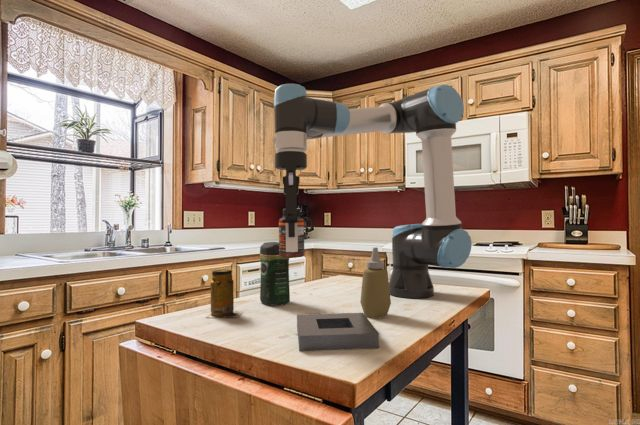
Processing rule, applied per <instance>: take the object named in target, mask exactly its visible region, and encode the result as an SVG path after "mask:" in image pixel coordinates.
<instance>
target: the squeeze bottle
mask: <svg viewBox="0 0 640 425" xmlns="http://www.w3.org/2000/svg"><path fill="white" fill-rule="evenodd" d="M371 251H372V252H371V257H370V260H366V268H365V269H364V270H363V271H362V281H361V291H360V292H361V293H360V302H359V303H360V305H361V306H360V307H361V308H362V310H363V312H362V313H364V315H365V316H366V317H367V318H371V319H382V318H386V317H387V316H388V313H389V311H390V307H391V305H392V302H391V301H392V300H391V295H390V290H389V281H390V279H389V271H388V270H387V269H385V261H383V260H381V257H380V254H379V249H378V247H372V250H371Z"/></svg>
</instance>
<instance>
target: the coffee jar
mask: <svg viewBox="0 0 640 425" xmlns="http://www.w3.org/2000/svg"><path fill="white" fill-rule="evenodd" d="M259 258H260V285H259V286H260V291H259V300H260V302H261V303H263V304H265V305H267V306H279V307H280V306H284V305H285V304H289V303H290V301H291V297H290V296H291V295H290V271H289V270H290V269H289V268H290V267H289V266H290V265H289V264H290V262H289V261H290V258H286V257H281V256H280V255H279V241H270V242H269V241H267V242H264V243H263V244H261V245H260V248H259Z"/></svg>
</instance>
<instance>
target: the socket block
mask: <svg viewBox="0 0 640 425" xmlns="http://www.w3.org/2000/svg"><path fill="white" fill-rule="evenodd" d="M296 328H297V329H296V330H297V332H296V333H297V340H298V343H297V344H298V351H299V352H313V351H338V350H361V349H362V350H363V349H380V336H379V335H380V334H379V332H378V330H377V329H376V328H375V327H374V325H373V324H372V323H371V321H370V320H369V319H368V317H367V316H365V315H364V312H347V313H346V312H345V313H341V312H340V313H315V314H314V313H310V314H307V313H306V314H296Z"/></svg>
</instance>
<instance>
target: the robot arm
mask: <svg viewBox="0 0 640 425" xmlns="http://www.w3.org/2000/svg"><path fill="white" fill-rule="evenodd" d="M307 95H308V94H307V90H306V87H305V86H302V85H301V84H297V83H285V84H280V85H279V86H277V87H275V91H274V96H273V99H274V100H273V101H274V102H273V111H274V112H273V114H274V115H273V116H274V137H273V138H272V139H271V141H272V143H275V144H274V150H275V151H276V153H275V154H274V168H275V169H276V170H280V171H285V175H284V176H282V185H283V195H284V196H285V209H286V216H285V220H283V223H286V252H298V226H297V218H298V216H297V209H298V206H297V205H298V204H297V203H298V202H297V198H298V196H299V185H300V184H301V183H300V181H301V180H300V176H297V172H296V171H301V170H305V169H307V167H308V158H307V157H308V155H307V153H306V151H307V150H308V140H313V139H314V140H315V139H320V138H329V137H330V138H331V137H339V136H340V137H341V136H349V135H358V134H365V133H366V134H367V133H368V134H369V133H377V132H381V133H382V134H384V135H386V134H387V135H388V134H408V133H409V134H410V133H415V136H417V137H418V138H419V139H420V140H421V151H422V164H423V165H422V166H423V183H424V185H423V186H424V200H425V202H424V204H425V214H426V215H425V217H426V218H425V219H424V221H422V223H414V224H413V223H412V224H404V225H403V224H401V225H398V226H397V225H396V226H395V227H394V228H393V230H392V237H391V245H392V246H391V248H392V254H391V255H392V271H391V275H390V278H389V290H390V296H393V297H398V298H406V299H423V298H424V299H425V298H430V297H433V296H434V295H435V287H434V284H433V281H432V278H431V274H430V272H429V266H433V267H439V268H442V269H443V268H444V269H448V268H449V269H456V268H460V267H461V266H463V265H464V264H465V263H466V261H467V260H468V258H469V257H470V255H471V251H472V238H471V236H470V235H469V232H468V231H467V230H465V229H464V228H463V227H462V226H463V225H462V221H461V220H460V219H459V218H458V217H457V216H456V215H457V214H456V195H455V181H454V178H455V177H454V164H453V162H454V161H453V146H452V145H453V143H452V138H453V135H454V134H455V133H456V132H457V123H459V122H460V121H461V120H462V119H463V116H464V113H465V111H464V110H465V107H464V106H465V105H464V102H463V99H462V97H461V94H460V93H459V92H458V91H457V90H456V89H455V88H454V87H453V86H452V85H449V84H439V85H435V86H431V87H429V88H428V89H424V90H422V91H419V92H417V93H414V94H411V95H408V96H406V97H403V98H400V99H397V100H395V101H391V102H384V103H381V104H380V105H379V106H373V107H358V108H349V107H348V106H347V105H346V104H344V103H341V102H337V101H333V100H332V101H331V100H325V99H318V98H317V99H316V98H313V97H312V98H311V97H309V96H307Z"/></svg>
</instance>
